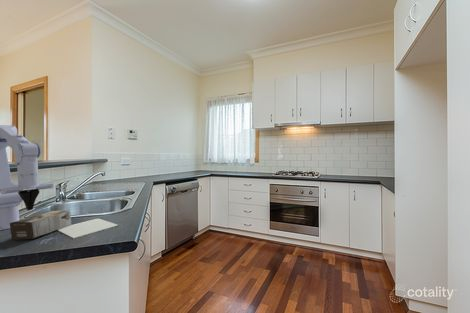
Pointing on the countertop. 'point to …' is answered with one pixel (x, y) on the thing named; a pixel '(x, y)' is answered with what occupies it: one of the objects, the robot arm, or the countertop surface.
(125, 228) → the countertop surface
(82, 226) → the mat
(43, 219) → the coffee box
